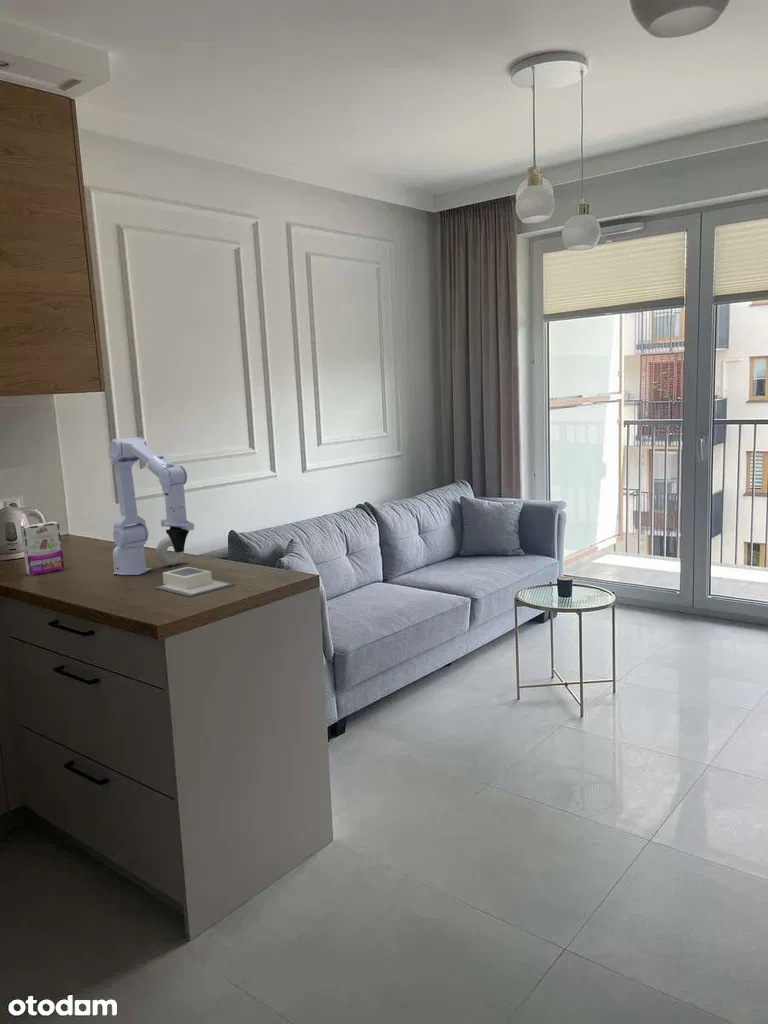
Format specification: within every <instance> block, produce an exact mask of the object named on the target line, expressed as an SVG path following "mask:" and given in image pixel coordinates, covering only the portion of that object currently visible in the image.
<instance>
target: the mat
mask: <svg viewBox="0 0 768 1024" xmlns="http://www.w3.org/2000/svg"><path fill="white" fill-rule="evenodd" d="M232 585H233V586H236V583H234V582H229V581H225V580H222V579H221V580H220V579H217V578H212V583H210V584H206V585H202V586H198V587H194V588H190V589H187V590H186V589H182V588H178V587H174V586H170V585H166V584H163V585H157V586H154V589H155V588H156V590H159V589H160V591H163V590H164V592H167V591H168V593H171V592H172V593H171V594H175V593H176V595H179V594H181V595H180V596H183V595H185V596H184V597H187V596H192V597H195V596H194V595H196V596H199V595H198V594H200V595H203V594H202V593H204V594H207V593H210V591H211V592H214V591H213V590H215V591H218V589H219V590H222V589H226V588H229V586H230V587H232ZM225 587H226V588H225ZM206 592H207V593H206Z"/></svg>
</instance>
